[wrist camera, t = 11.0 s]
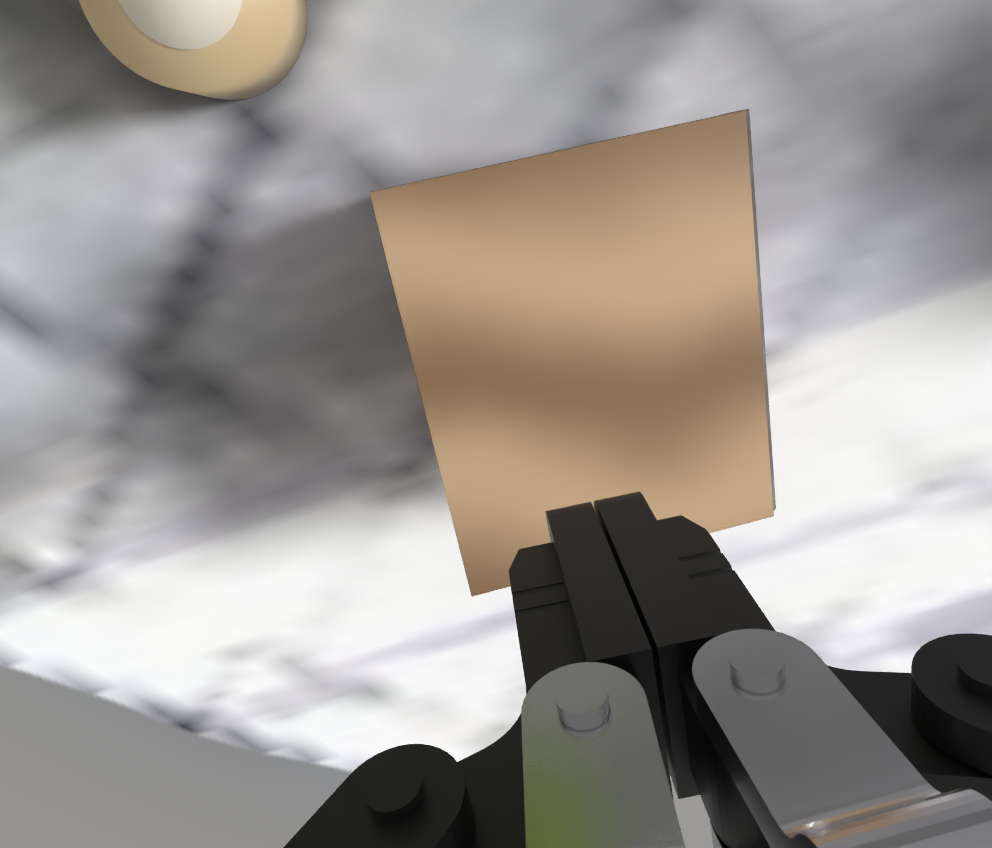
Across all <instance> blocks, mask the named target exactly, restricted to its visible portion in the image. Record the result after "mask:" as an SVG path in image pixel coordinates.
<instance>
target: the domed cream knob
mask: <svg viewBox="0 0 992 848" xmlns="http://www.w3.org/2000/svg"><path fill="white" fill-rule="evenodd" d="M79 2H80V4H81V7H82V9H83V12H84V14H85V16H86V18H87V20H88V22H89V23H90V25H91V27H92V29H93V30H94V32H95V33H96V35H97V36H98V37H99V39H100V40H101V42H102V43H103V44H104V45H105V46H106V47H107V49H108V50H109V51H110V52H111V53H112V54H113V55H114V56H115V57H116V58H117V59H118V60H119V61H120V62H122V63H123V64H124V65H125V66H127V67H128V68H129V69H131V70H132V71H133V72H135V73H137V74H138V75H140V76H142V77H144V78H145V79H147V80H149V81H152V82H154V83H156V84H159V85H161V86H165V87H169V88H172V89H176V90H180V91H185V92H189V93H193V94H198V95H202V96H206V97H211V98H215V99H222V100H241V99H248V98H251V97H255V96H258V95H260V94H262V93H264V92H267V91H268V90H270V89H271V88H273V87H274V86H276V85H277V84H278V83H279V82H280V81H282V80H283V79H284V78H285V77H286V75H287V74H288V73H289V72H290V71H291V69H292V68H293V66H294V64H295V63H296V61H297V59H298V57H299V55H300V53H301V50H302V47H303V44H304V40H305V36H306V29H307V3H306V0H79Z"/></svg>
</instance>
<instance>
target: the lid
mask: <svg viewBox="0 0 992 848" xmlns="http://www.w3.org/2000/svg"><path fill="white" fill-rule="evenodd" d="M370 196H371V200H372V204H373V208H374V212H375V216H376V220H377V224H378V228H379V232H380V236H381V240H382V244H383V248H384V252H385V256H386V259H387V263H388V267H389V271H390V275H391V279H392V283H393V287H394V291H395V295H396V299H397V303H398V307H399V311H400V315H401V319H402V323H403V327H404V331H405V335H406V339H407V342H408V346H409V350H410V354H411V358H412V362H413V366H414V370H415V374H416V378H417V382H418V386H419V390H420V394H421V398H422V402H423V406H424V410H425V414H426V418H427V422H428V425H429V429H430V433H431V437H432V441H433V445H434V449H435V453H436V457H437V461H438V465H439V469H440V473H441V477H442V481H443V485H444V489H445V493H446V497H447V501H448V505H449V509H450V512H451V516H452V520H453V524H454V528H455V532H456V536H457V540H458V544H459V548H460V552H461V556H462V560H463V564H464V568H465V572H466V576H467V580H468V584H469V588H470V592H471V595H472V596H475V595H479V594H483V593H487V592H490V591H494V590H498V589H502V588H505V587H509V586H511V584H510V578H509V568H510V566H511V564H512V562H513V560H514V558H515V556H516V554H517V552H518V550H519V549H522V548H526V547H531V546H536V545H541V544H546V543H551V540H550V535H549V530H548V525H547V519H546V513H545V511H548V510H553V509H558V508H563V507H567V506H572V505H577V504H582V503H587V502H591V503H592V505H593V507H594V501H595V500H600V499H605V498H610V497H615V496H620V495H624V494H629V493H634V492H641V493H642V495H643V496H644V498H645V500H646V502H647V503H648V505H649V507H650V509H651V510H652V512H653V514H654V516H655V518H656V519H657V520H661V519H665V518H670V517H675V516H680V515H682V516H684V517H685V518H687V519H689V520H691V521H692V522H694V523H696V524H698V525H700V526H701V527H703V528H705V529H706V530H707V531H708V533H712V532H716V531H720V530H723V529H727V528H731V527H735V526H738V525H742V524H746V523H750V522H753V521H757V520H761V519H765V518H768V517H772V516H774V514H773V511H774V510H775V509H776V503H775V488H774V473H773V459H772V444H771V429H770V414H769V399H768V384H767V369H766V354H765V339H764V324H763V309H762V294H761V279H760V265H759V250H758V235H757V220H756V205H755V190H754V175H753V160H752V145H751V130H750V115H749V109H746V110H741V111H736V112H731V113H726V114H722V115H719V116H715V117H710V118H705V119H701V120H696V121H692V122H687V123H683V124H678V125H673V126H669V127H664V128H660V129H655V130H651V131H646V132H642V133H637V134H632V135H628V136H623V137H619V138H614V139H610V140H605V141H600V142H596V143H591V144H587V145H582V146H578V147H573V148H568V149H564V150H559V151H555V152H550V153H546V154H541V155H536V156H532V157H527V158H523V159H518V160H514V161H509V162H504V163H500V164H495V165H491V166H486V167H482V168H477V169H472V170H468V171H463V172H459V173H454V174H450V175H445V176H441V177H436V178H431V179H427V180H422V181H418V182H413V183H409V184H404V185H399V186H395V187H390V188H386V189H381V190H377V191H372V192H370Z"/></svg>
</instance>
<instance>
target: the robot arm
mask: <svg viewBox="0 0 992 848" xmlns="http://www.w3.org/2000/svg"><path fill="white" fill-rule="evenodd" d="M545 513H546V519H547V525H548V530H549V535H550V540H551V543H546V544H541V545H536V546H531V547H526V548H522V549H519V550H518V552H517V554H516V556H515V558H514V560H513V562H512V564H511V566H510V568H509V578H510V584H511V591H512V596H513V604H514V610H515V617H516V624H517V630H518V637H519V643H520V650H521V656H522V663H523V669H524V676H525V683H526V697H525V699H524V702H523V705H522V712H521V714H520V716H519V718H518V720H517V721H516V722H515V724H514V725H513V726H512V727H511V729H510V730H509V731H508V732H507V733H506V734H505V735H503V736H502V737H501V738H500V739H498V740H497V741H496V742H494V743H493V744H491V745H490V746H488V747H486V748H484V749H483V750H481V751H479V752H477V753H475V754H473V755H471V756H469V757H467V758H465V759H463V760H461V761H459V762H456V760H455V759H454V758H453V757H452V756H451V755H450V754H448V753H447V752H445V751H443V750H442V749H440V748H437V747H434V746H431V745H424V744H408V745H402V746H397V747H394V748H391V749H388V750H385V751H383V752H381V753H379V754H377V755H375V756H373V757H371V758H370V759H368V760H367V761H365V762H364V763H363V764H361V765H360V766H359V767H358V768H357V769H355V770H354V771H353V772H352V773H351V774H350V775H349V777H348V778H347V779H346V780H345V781H344V782H343V783H342V784H341V785H340V786H339V787H338V788H337V790H336V791H335V792H334V793H333V794H332V795H331V796H330V797H329V798H328V799H327V801H326V802H325V803H324V804H323V805H322V806H321V807H320V808H319V809H318V810H317V812H316V813H315V814H314V815H313V816H312V817H311V818H310V819H309V820H308V821H307V822H306V824H305V825H304V826H303V827H302V828H301V829H300V830H299V831H298V832H297V834H295V836H294V837H293V838H292V839H291V840H290V841H289V842H288V843H287V844H286V846H285V847H284V848H685V845H684V841H683V837H682V833H681V829H680V825H679V821H678V818H677V814H676V810H675V806H674V802H673V794H672V788H671V780H670V776H671V779H672V782H673V784H674V787H675V790H676V793H677V795H678V798H679V799H680V798H686V797H691V796H695V795H701V798H702V800H703V803H704V805H705V808H706V811H707V813H708V816H709V818H710V825H711V833H712V842H713V848H992V636H990V635H983V634H954V635H947V636H943V637H939V638H937V639H934V640H932V641H929V642H928V643H926V644H925V645H923V646H922V647H921V648H920V649H919V650H918V651H917V652H916V654H915V656H914V658H913V661H912V667H911V673H894V672H868V671H853V670H845V669H839V668H834V667H831V666H827V665H826V664H825V663H824V662H823V661H822V659H821V658H820V657H819V656H818V655H817V654H816V653H815V652H814V651H813V650H812V649H811V648H810V647H809V646H807V645H806V644H804V643H803V642H801V641H799V640H797V639H796V638H794V637H791V636H789V635H786V634H783V633H780V632H776V631H775V630H774V628H773V627H772V625H771V624H770V622H769V621H768V619H767V618H766V616H765V615H764V613H763V612H762V611H761V609H760V608H759V606H758V605H757V603H756V602H755V600H754V599H753V597H752V596H751V594H750V593H749V591H748V590H747V588H746V587H745V585H744V584H743V583H742V581H741V580H740V578H739V577H738V575H737V574H736V572H735V571H734V570H733V571H732V568H731V565H730V563H729V562H728V560H727V559H726V558H725V556H724V555H723V553H722V554H721V552H720V549H719V547H718V546H717V544H716V543H715V541H714V540H713V538H712V537H711V535H710V534H709V533H708V531H707V530H706V529H705V528H703V527H701V526H700V525H698V524H696V523H694V522H692V521H691V520H689V519H687V518H685V517H684V516H682V515H680V516H675V517H670V518H665V519H661V520H657V519H656V518H655V516H654V514H653V512H652V510H651V509H650V507H649V505H648V503H647V502H646V500H645V498H644V496H643V495H642V493H641V492H634V493H629V494H624V495H620V496H615V497H610V498H605V499H600V500H595V501H594V507H593V505H592V503H591V502H587V503H582V504H577V505H572V506H567V507H563V508H558V509H553V510H548V511H545Z"/></svg>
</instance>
